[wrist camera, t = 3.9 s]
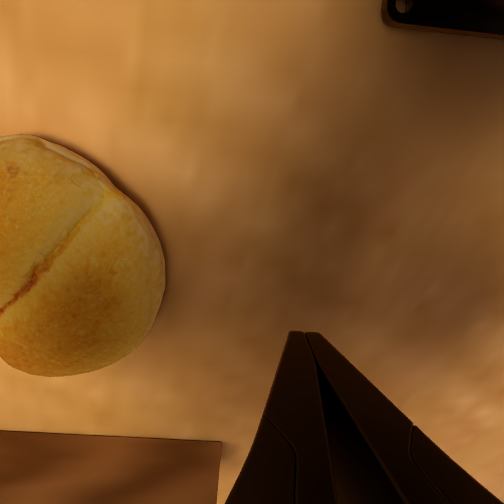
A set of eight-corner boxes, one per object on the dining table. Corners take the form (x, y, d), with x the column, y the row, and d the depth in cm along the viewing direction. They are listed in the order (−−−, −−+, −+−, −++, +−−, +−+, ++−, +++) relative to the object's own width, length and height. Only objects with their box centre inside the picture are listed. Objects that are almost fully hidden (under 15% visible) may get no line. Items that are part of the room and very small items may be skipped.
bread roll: (86, 366, 15) (35, 445, 12) (-89, 229, 12) (-231, 277, 9) (216, 276, 13) (204, 337, 10) (45, 88, 10) (-67, 72, 7)
